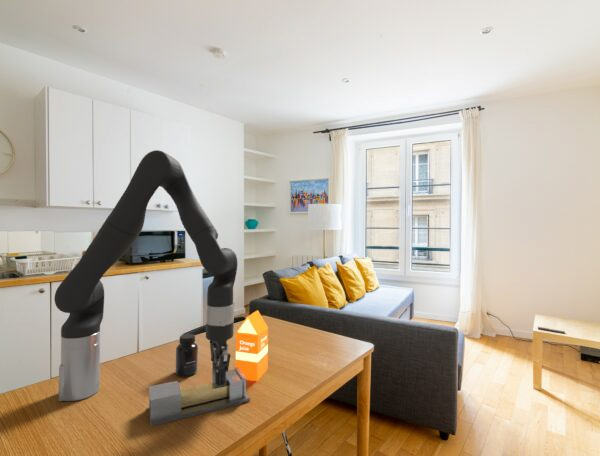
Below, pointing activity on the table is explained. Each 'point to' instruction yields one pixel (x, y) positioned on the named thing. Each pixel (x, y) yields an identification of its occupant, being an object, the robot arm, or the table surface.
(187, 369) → the supplement bottle
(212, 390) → the block
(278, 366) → the table surface
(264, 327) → the orange juice
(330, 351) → the table surface
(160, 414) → the rail
